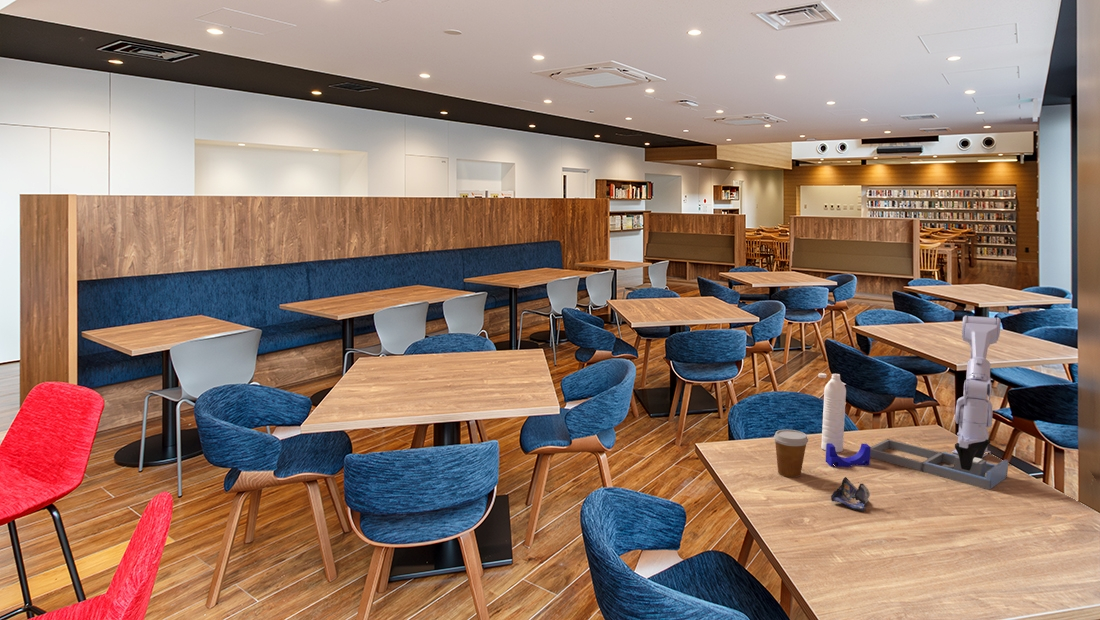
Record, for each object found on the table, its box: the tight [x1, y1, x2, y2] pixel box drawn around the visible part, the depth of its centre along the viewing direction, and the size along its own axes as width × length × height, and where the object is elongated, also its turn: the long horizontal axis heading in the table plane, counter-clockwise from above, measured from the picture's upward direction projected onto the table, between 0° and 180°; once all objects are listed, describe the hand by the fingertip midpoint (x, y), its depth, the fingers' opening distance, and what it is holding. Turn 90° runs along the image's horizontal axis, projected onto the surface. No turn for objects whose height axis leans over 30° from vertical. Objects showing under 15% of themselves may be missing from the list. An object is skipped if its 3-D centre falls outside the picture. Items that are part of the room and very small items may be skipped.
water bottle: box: [817, 372, 847, 453], centre depth 216 cm, size 9×6×25 cm
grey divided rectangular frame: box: [870, 438, 1009, 490], centre depth 202 cm, size 14×34×5 cm, turn 39°
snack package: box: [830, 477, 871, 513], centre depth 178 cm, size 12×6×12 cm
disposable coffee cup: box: [773, 429, 809, 478], centre depth 197 cm, size 10×10×12 cm
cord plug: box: [941, 454, 987, 478], centre depth 196 cm, size 4×11×5 cm, turn 39°
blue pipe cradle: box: [825, 443, 871, 468], centre depth 204 cm, size 12×4×6 cm, turn 88°
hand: (970, 466), depth 194 cm, fingers open, 7 cm apart
